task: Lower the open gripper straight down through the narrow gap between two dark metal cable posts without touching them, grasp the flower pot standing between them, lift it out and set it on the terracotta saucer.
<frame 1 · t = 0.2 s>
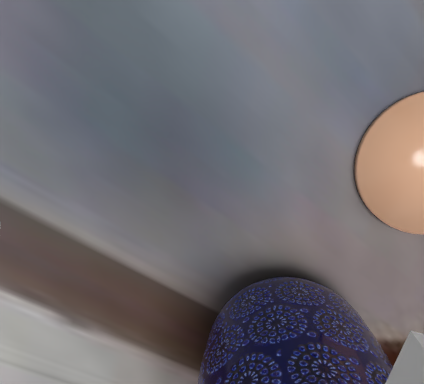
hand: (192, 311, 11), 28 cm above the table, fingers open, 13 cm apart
planter: (282, 322, 42), on the table
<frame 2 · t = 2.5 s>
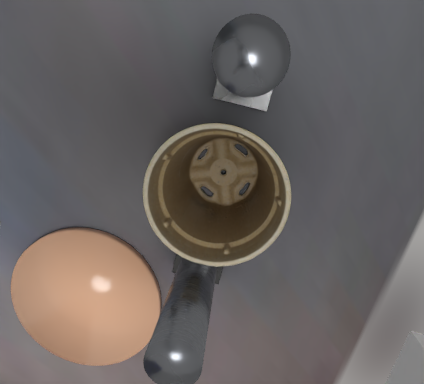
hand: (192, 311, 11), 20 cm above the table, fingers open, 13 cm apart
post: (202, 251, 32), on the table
flower pot: (222, 170, 30), on the table
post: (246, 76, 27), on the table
saucer: (88, 296, 34), on the table
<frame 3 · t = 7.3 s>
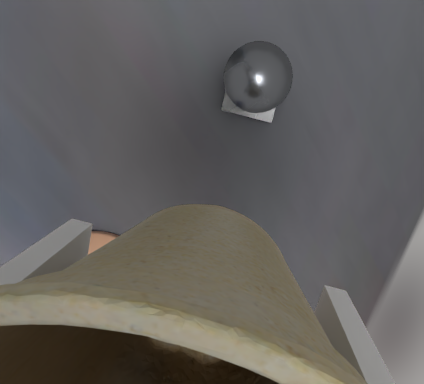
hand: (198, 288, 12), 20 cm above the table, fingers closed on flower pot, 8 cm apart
flower pot: (199, 278, 13), point 20 cm above the table, touching gripper
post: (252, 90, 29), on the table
saucer: (101, 297, 36), on the table
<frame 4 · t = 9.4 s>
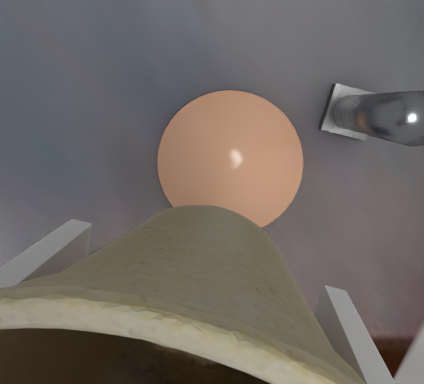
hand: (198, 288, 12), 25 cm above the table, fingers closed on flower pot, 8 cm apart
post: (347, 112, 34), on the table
flower pot: (199, 279, 13), point 24 cm above the table, touching gripper
saucer: (229, 164, 36), on the table
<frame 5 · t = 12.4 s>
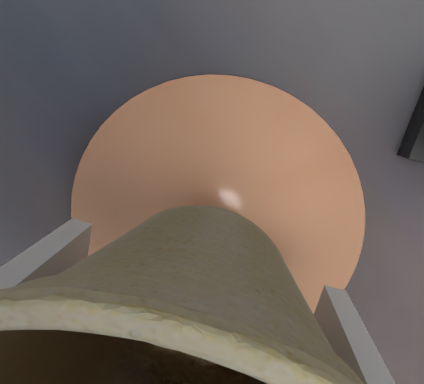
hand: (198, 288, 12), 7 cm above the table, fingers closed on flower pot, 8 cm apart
flower pot: (199, 280, 13), point 6 cm above the table, touching gripper
saucer: (214, 222, 18), on the table
when the fingers open (3 cm above the table, at t = 13.9 s): flower pot drops 1 cm, resting on saucer.
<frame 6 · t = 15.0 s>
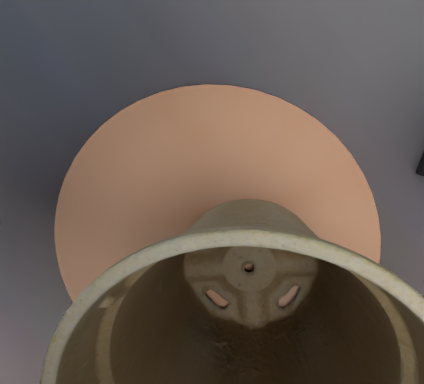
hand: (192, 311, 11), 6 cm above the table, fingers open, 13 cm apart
flower pot: (247, 260, 16), point 1 cm above the table, touching gripper, saucer
saucer: (212, 246, 17), on the table
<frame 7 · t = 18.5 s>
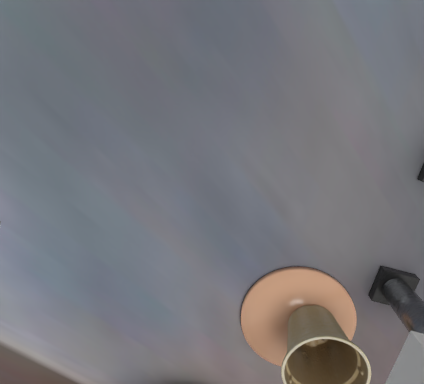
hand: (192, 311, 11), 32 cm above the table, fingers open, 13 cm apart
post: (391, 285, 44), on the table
flower pot: (310, 323, 45), point 1 cm above the table, touching saucer
saucer: (296, 316, 46), on the table
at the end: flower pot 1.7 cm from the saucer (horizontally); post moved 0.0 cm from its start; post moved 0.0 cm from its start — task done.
